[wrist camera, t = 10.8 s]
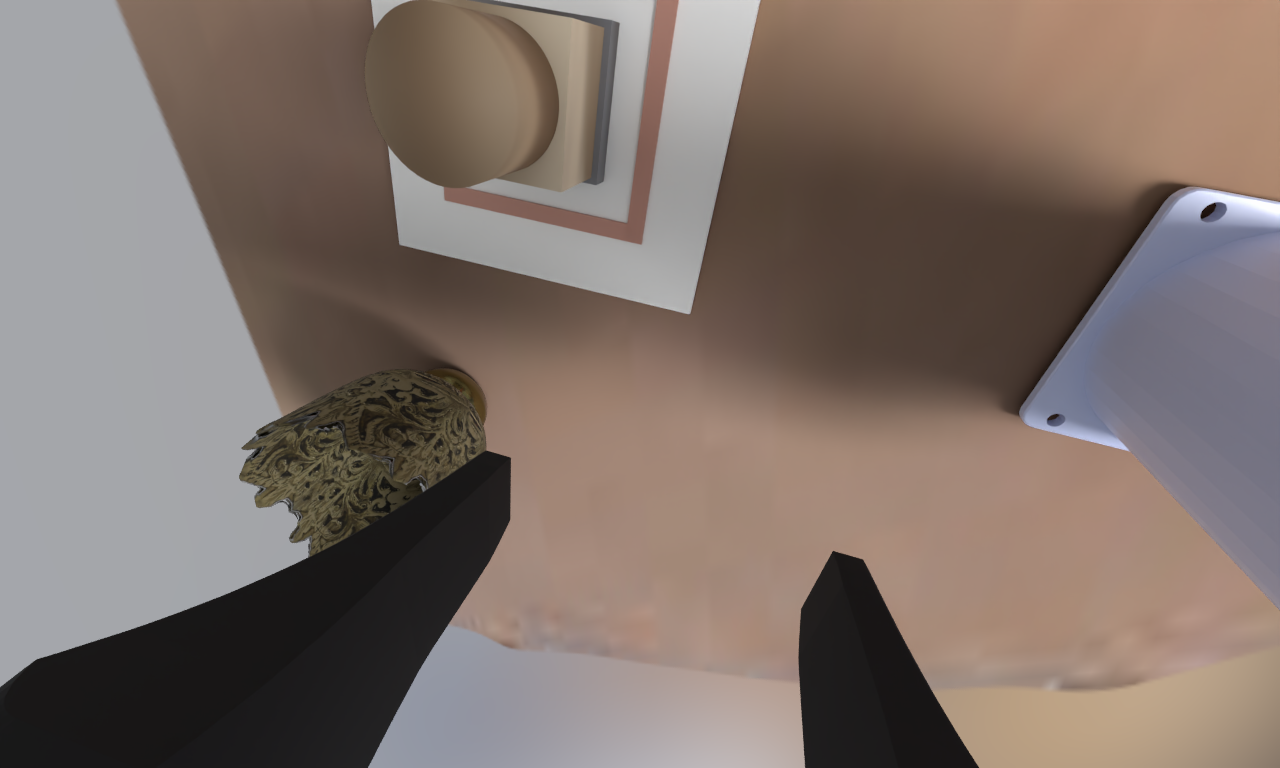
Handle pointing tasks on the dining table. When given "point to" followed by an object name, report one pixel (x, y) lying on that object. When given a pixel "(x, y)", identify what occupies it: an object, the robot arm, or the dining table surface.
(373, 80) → the stamp
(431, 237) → the card sheet
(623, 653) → the dining table surface
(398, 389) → the cup
